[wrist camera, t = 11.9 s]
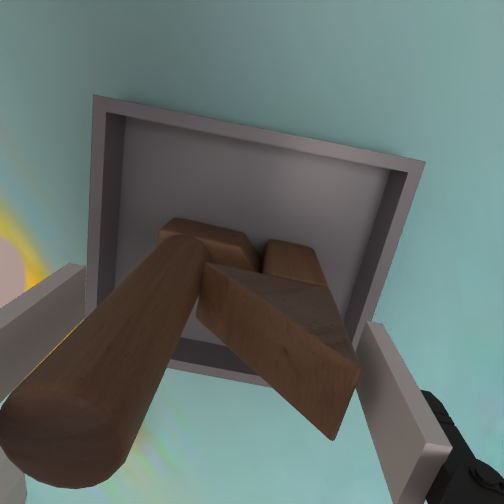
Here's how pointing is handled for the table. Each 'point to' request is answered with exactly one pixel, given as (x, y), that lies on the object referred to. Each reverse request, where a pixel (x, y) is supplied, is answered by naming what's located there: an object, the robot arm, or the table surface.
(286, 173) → the tray
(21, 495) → the ashtray
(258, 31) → the table surface
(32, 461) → the brown round-handled part
